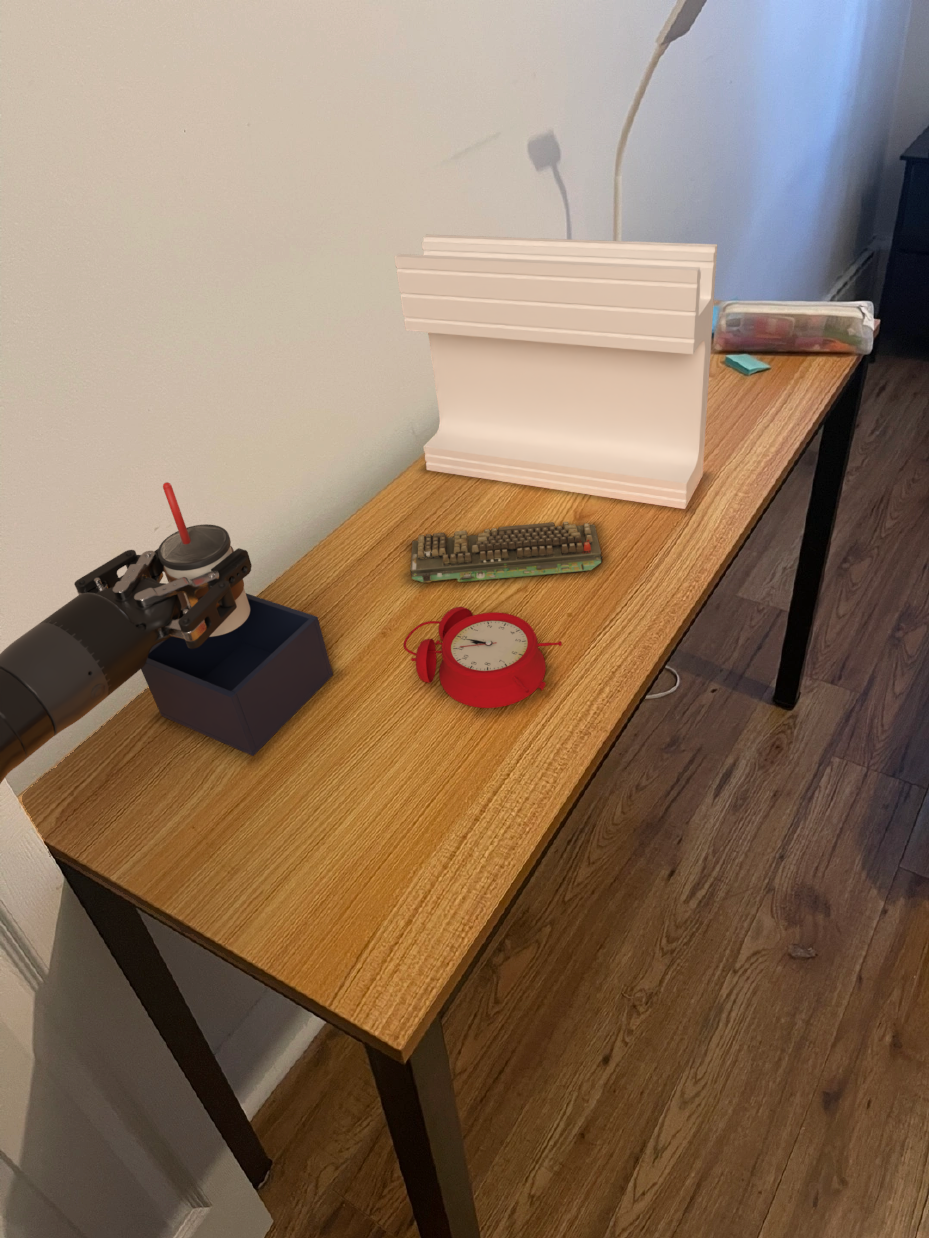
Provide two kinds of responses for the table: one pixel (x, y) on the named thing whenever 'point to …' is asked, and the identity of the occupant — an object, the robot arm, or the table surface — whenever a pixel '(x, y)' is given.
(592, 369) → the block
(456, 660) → the alarm clock
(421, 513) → the table surface
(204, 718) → the bin
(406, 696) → the table surface
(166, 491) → the paper cup
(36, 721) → the robot arm
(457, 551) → the keyboard
